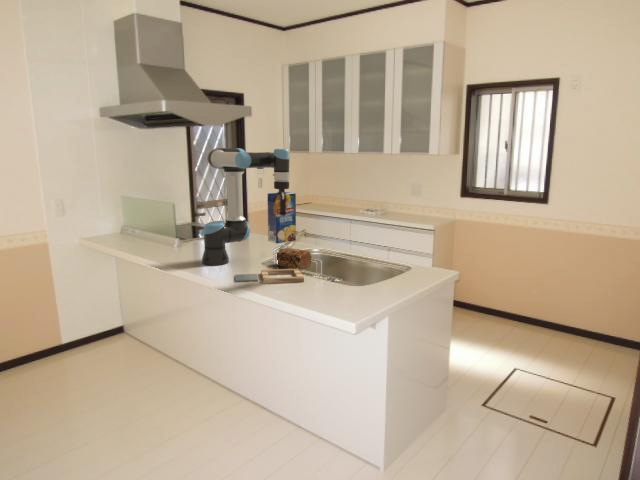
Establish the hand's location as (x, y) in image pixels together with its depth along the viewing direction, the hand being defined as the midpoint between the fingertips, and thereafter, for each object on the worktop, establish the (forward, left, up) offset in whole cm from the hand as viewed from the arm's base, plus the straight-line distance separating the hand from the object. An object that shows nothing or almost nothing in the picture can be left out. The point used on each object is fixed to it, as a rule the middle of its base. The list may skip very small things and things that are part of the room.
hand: (281, 227), depth 229 cm
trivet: (-1, -18, -26) cm, 32 cm away
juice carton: (0, 0, -7) cm, 7 cm away
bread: (-22, +9, -27) cm, 36 cm away
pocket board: (0, 0, -26) cm, 26 cm away
